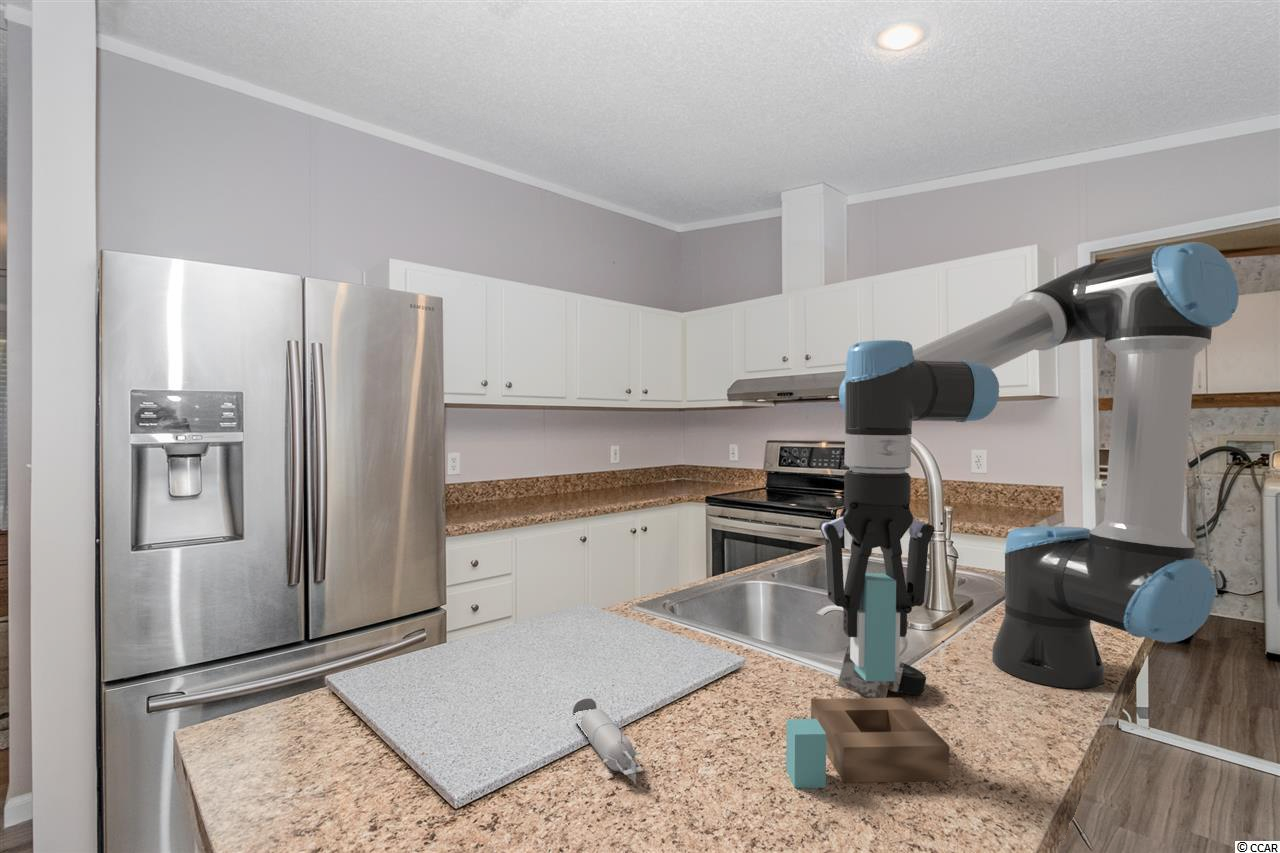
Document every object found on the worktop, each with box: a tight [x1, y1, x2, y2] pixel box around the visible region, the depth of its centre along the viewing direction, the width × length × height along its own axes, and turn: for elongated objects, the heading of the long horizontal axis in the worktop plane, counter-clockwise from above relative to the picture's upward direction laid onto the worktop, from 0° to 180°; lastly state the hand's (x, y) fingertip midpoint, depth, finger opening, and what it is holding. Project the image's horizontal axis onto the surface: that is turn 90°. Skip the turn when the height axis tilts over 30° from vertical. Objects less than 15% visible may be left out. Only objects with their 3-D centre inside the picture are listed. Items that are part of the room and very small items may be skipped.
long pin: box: [855, 572, 896, 681], centre depth 77 cm, size 4×4×12 cm
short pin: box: [785, 718, 827, 789], centre depth 72 cm, size 4×4×6 cm
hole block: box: [810, 697, 950, 784], centre depth 77 cm, size 12×12×4 cm
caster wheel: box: [837, 641, 927, 698], centre depth 95 cm, size 7×11×10 cm
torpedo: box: [571, 696, 644, 785], centre depth 78 cm, size 18×5×7 cm, turn 25°
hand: (874, 662), depth 77 cm, fingers closed on long pin, 3 cm apart
